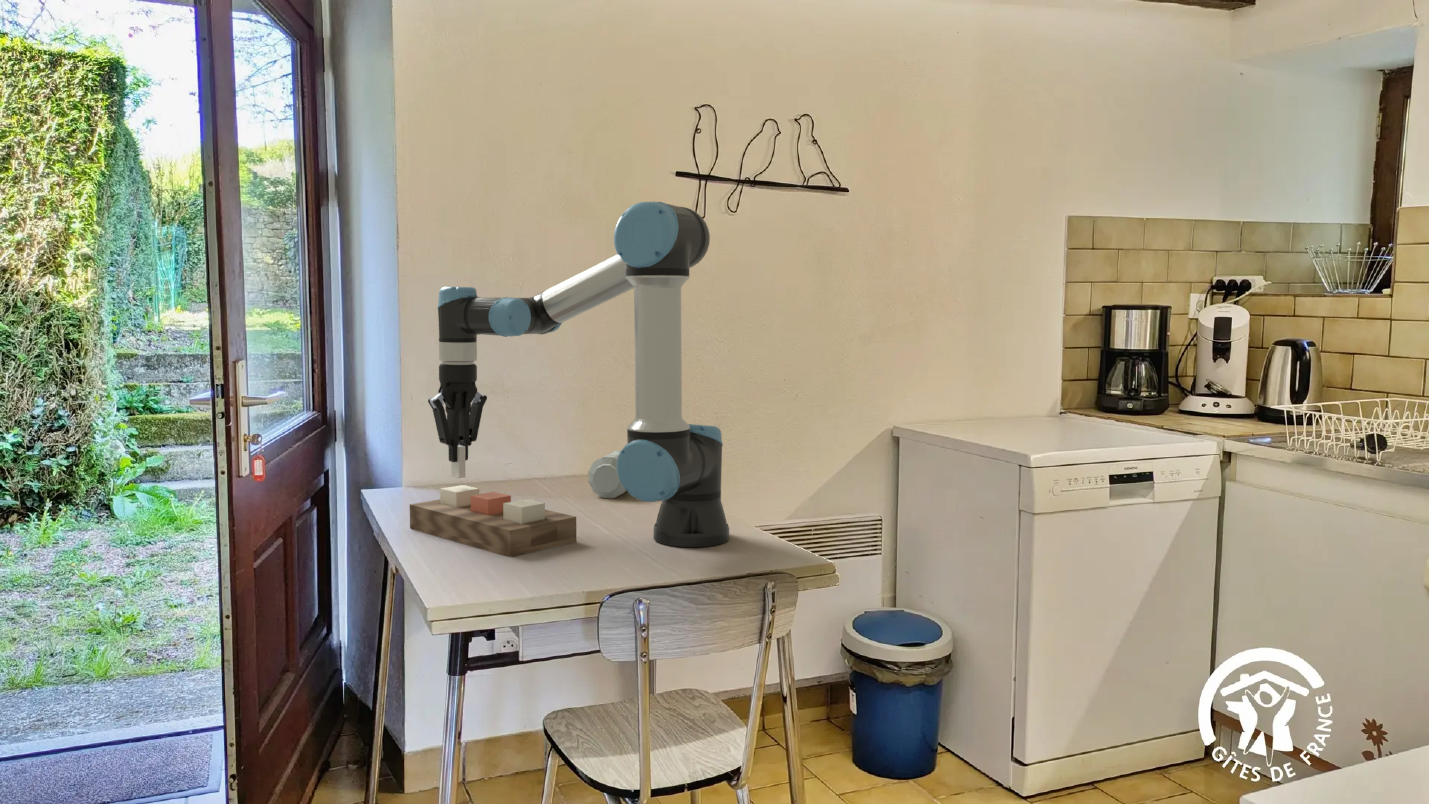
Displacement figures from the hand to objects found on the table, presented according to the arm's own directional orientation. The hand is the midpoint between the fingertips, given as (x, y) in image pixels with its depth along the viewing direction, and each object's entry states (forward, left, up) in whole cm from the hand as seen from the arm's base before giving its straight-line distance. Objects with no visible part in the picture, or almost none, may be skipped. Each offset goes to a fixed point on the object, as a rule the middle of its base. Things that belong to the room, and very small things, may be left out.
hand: (458, 476), depth 206 cm
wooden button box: (-11, 0, -10) cm, 15 cm away
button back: (0, 0, -7) cm, 7 cm away
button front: (-21, 0, -7) cm, 22 cm away
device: (+6, -54, -11) cm, 55 cm away
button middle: (-11, 0, -7) cm, 13 cm away
